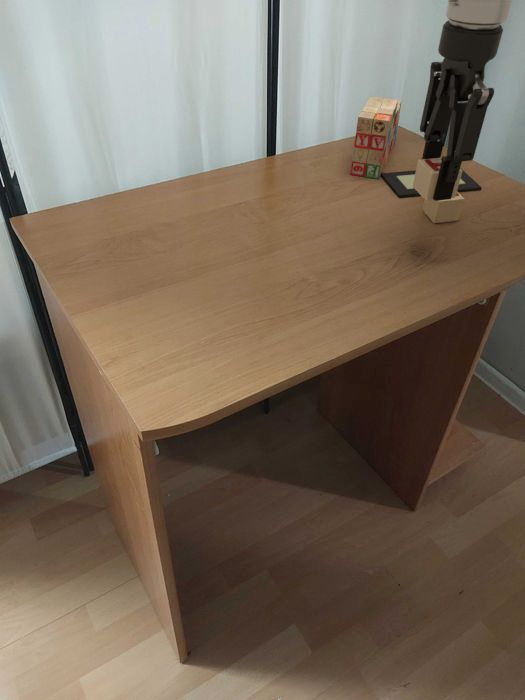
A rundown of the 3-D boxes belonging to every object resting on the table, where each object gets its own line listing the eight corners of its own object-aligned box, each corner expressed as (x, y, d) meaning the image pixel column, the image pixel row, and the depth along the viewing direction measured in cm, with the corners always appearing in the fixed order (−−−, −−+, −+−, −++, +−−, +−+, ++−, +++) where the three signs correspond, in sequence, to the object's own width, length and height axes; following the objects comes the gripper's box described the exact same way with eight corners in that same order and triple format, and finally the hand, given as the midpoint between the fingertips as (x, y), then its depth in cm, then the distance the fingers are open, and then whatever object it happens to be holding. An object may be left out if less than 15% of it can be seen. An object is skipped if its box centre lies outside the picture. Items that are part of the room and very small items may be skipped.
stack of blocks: (369, 137, 128) (377, 82, 120) (395, 141, 127) (405, 86, 119) (349, 175, 114) (357, 115, 105) (379, 179, 112) (389, 119, 104)
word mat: (481, 190, 109) (482, 186, 109) (398, 198, 107) (399, 194, 106) (458, 168, 117) (458, 165, 116) (380, 175, 114) (380, 172, 113)
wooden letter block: (446, 207, 104) (452, 185, 101) (458, 220, 100) (465, 197, 97) (422, 210, 103) (427, 187, 100) (433, 223, 100) (439, 200, 96)
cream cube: (455, 197, 84) (463, 169, 81) (425, 201, 83) (432, 172, 80) (440, 183, 87) (447, 155, 84) (412, 186, 87) (418, 158, 83)
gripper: (417, 8, 75) (389, 168, 91) (483, 41, 62) (437, 221, 78) (466, 6, 76) (430, 164, 92) (541, 38, 63) (484, 215, 79)
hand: (433, 190), depth 85 cm, fingers closed on cream cube, 5 cm apart
